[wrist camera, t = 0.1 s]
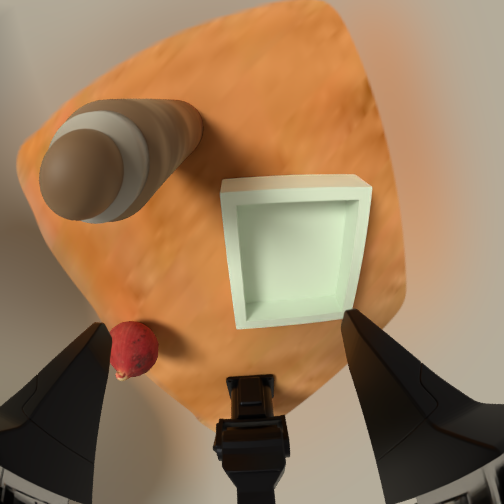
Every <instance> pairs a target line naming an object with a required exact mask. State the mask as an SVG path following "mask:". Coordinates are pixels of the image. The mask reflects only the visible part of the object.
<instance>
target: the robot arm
mask: <svg viewBox="0 0 504 504" xmlns="http://www.w3.org/2000/svg"><path fill="white" fill-rule="evenodd" d="M341 332H342V337H343V342H344V347H345V351H346V356H347V361H348V366H349V370H350V373H351V376H352V379H353V382H354V386H355V389H356V392H357V395H358V398H359V402H360V405H361V408H362V412H363V415H364V419H365V422H366V425H367V429H368V433H369V436H370V440H371V444H372V448H373V451H374V455H375V459H376V464H377V468H378V472H379V476H380V480H381V484H382V489H383V493H384V498H385V502H386V504H396V503H399V502H403V501H406V500H409V499H412V498H415V497H416V499H417V503H415V504H504V404H485V403H480V402H477V401H474V400H473V399H471V398H469V397H468V396H467V395H465V394H464V393H462V392H461V391H459V390H458V389H456V388H455V387H453V386H452V385H450V384H449V383H447V382H446V381H444V380H443V379H442V378H440V377H439V376H438V375H436V374H435V373H434V372H433V371H431V370H430V369H429V368H428V367H427V366H425V365H424V364H423V363H421V362H420V361H419V360H418V359H417V358H416V357H414V356H413V355H412V354H411V353H410V352H409V351H407V350H406V349H405V348H404V347H403V346H401V345H400V344H399V343H398V342H396V341H395V340H394V339H393V338H392V337H390V336H389V335H388V334H387V333H385V332H384V331H383V330H382V329H381V328H379V327H378V326H377V325H376V324H374V323H373V322H372V321H371V320H370V319H368V318H367V317H366V316H365V315H363V314H362V313H361V312H360V311H358V310H357V309H348V310H345V312H344V315H343V320H342V324H341ZM111 349H112V337H111V335H110V333H109V331H108V329H107V327H106V325H105V324H104V323H98V322H95V323H93V324H92V325H91V326H90V327H89V328H87V329H86V330H85V331H84V332H83V333H82V334H81V335H80V336H78V337H77V338H76V339H75V340H74V341H73V342H72V343H70V344H69V345H68V346H67V347H66V348H65V349H64V350H63V351H62V352H61V353H59V354H58V355H57V356H56V357H55V358H54V359H53V360H52V361H51V362H50V363H49V364H48V365H46V366H45V367H44V368H43V369H42V370H41V371H40V372H39V373H38V375H36V376H35V377H34V378H33V379H32V380H31V381H30V382H28V384H26V385H25V386H24V387H23V388H22V389H21V390H20V391H18V392H17V393H16V394H15V395H14V396H13V397H11V398H10V399H9V400H8V401H6V402H5V403H4V404H3V405H2V406H0V504H68V502H69V499H70V500H73V501H76V502H79V503H82V504H92V489H93V474H94V460H95V451H96V443H97V436H98V429H99V422H100V416H101V410H102V404H103V399H104V394H105V389H106V384H107V379H108V373H109V365H110V357H111ZM226 383H227V387H228V391H229V395H230V398H231V419H219V423H217V424H216V437H215V441H214V445H213V450H214V451H215V452H216V453H217V456H218V459H219V461H222V467H223V469H224V471H225V472H226V474H227V475H228V477H229V478H230V479H231V481H232V482H233V484H234V485H235V486H236V487H237V504H275V494H274V489H275V487H276V486H277V484H278V482H279V481H280V479H281V477H282V475H283V474H284V471H285V465H286V459H285V458H286V457H290V444H289V436H288V431H287V425H286V419H285V415H281V416H274V414H273V404H272V398H273V397H274V377H273V375H259V376H243V377H228V378H226Z"/></svg>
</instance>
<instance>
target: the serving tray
mask: <svg viewBox="0 0 504 504" xmlns="http://www.w3.org/2000/svg"><path fill="white" fill-rule="evenodd" d="M371 195H372V186H370V185H369V184H368V183H366V182H365V181H364V180H362V179H361V178H359V177H358V176H356V175H355V174H310V175H280V176H261V177H245V178H232V179H223V180H222V184H221V189H220V200H221V210H222V219H223V227H224V236H225V245H226V253H227V261H228V269H229V277H230V285H231V292H232V300H233V307H234V315H235V322H236V329H249V328H263V327H275V326H286V325H296V324H305V323H314V322H322V321H330V320H338V319H343V315H344V312H345V310H348V309H352V308H353V303H354V299H355V294H356V290H357V285H358V280H359V275H360V270H361V264H362V259H363V253H364V247H365V241H366V234H367V228H368V220H369V213H370V204H371Z"/></svg>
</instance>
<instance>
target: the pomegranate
mask: <svg viewBox="0 0 504 504" xmlns="http://www.w3.org/2000/svg"><path fill="white" fill-rule="evenodd" d="M110 335H111V337H112V349H111V357H110V363H111V365H112V366H113V367H114V368H115V369H116V371H117V373H116V378H117V379H118V380H120V381H124V380H127V379H128V378H130V377H136V376H140V375H142V374H144V373H146V372H148V371H149V370H150V369H151V368H152V366H153V365H154V364H155V362H156V360H157V357H158V341H157V338H156V336H155V335H154V333H153V331H152V330H151V329H150V328H148V327H147V326H146V325H144V324H142V323H139V322H134V321H129V322H122V323H120V324H118V325H117V326H115V327H114V328H112V330H111V331H110Z"/></svg>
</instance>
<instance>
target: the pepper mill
mask: <svg viewBox="0 0 504 504" xmlns="http://www.w3.org/2000/svg"><path fill="white" fill-rule="evenodd" d="M202 135H203V121H202V118H201V116H200V114H199V112H198V111H197V110H196V109H195V108H194V107H193V106H192V105H190V104H189V103H187V102H184V101H180V100H167V99H108V100H98V101H94V102H91V103H88V104H86V105H84V106H82V107H81V108H79V109H78V110H77V111H75V112H74V113H73V114H72V115H71V116H70V117H69V118H68V119H67V121H66V122H65V123H64V124H63V125H62V126H61V127H60V128H59V129H58V131H57V132H56V134H55V135H54V137H53V139H52V141H51V144H50V146H49V149H48V151H47V152H46V154H45V156H44V158H43V161H42V164H41V167H40V173H39V184H40V190H41V193H42V196H43V198H44V200H45V202H46V204H47V205H48V206H49V208H50V209H51V210H52V211H53V212H55V213H56V214H57V215H59V216H61V217H63V218H66V219H69V220H76V221H83V222H87V223H95V224H97V223H104V222H114V221H119V220H123V219H126V218H128V217H130V216H132V215H134V214H135V213H136V212H138V211H139V210H140V209H141V208H142V207H143V206H144V205H145V204H146V203H147V202H148V201H149V199H150V198H151V197H152V196H153V195H154V193H155V192H156V191H157V190H158V189H159V188H160V186H161V185H162V184H163V183H164V182H165V181H166V180H167V178H168V177H169V176H170V175H171V174H172V173H173V172H174V171H175V170H176V169H177V167H178V166H179V165H180V164H181V163H182V162H183V161H184V160H185V159H186V158H187V157H188V156H189V155H190V154H191V153H192V152H193V150H194V149H195V148H196V147H197V146H198V144H199V143H200V141H201V138H202Z"/></svg>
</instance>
